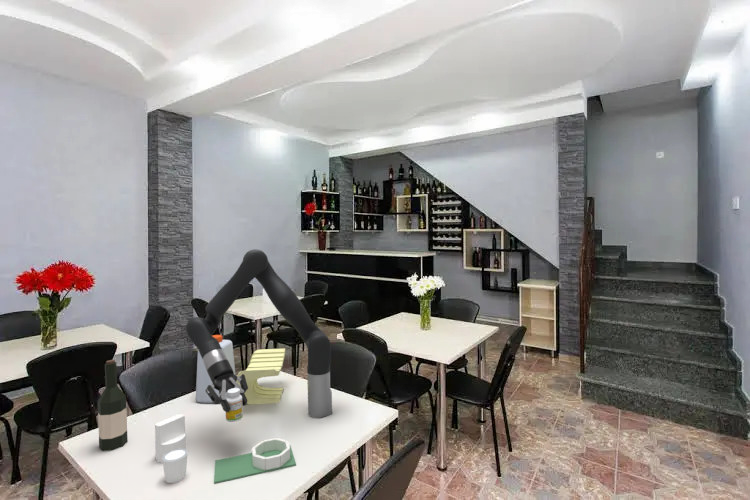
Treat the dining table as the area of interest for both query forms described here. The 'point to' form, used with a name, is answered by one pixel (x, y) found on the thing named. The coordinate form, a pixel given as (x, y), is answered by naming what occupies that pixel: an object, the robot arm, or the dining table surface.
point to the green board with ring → (255, 461)
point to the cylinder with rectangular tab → (170, 435)
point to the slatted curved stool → (263, 366)
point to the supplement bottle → (234, 405)
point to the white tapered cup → (175, 465)
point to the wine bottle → (112, 412)
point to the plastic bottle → (202, 373)
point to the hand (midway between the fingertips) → (237, 407)
